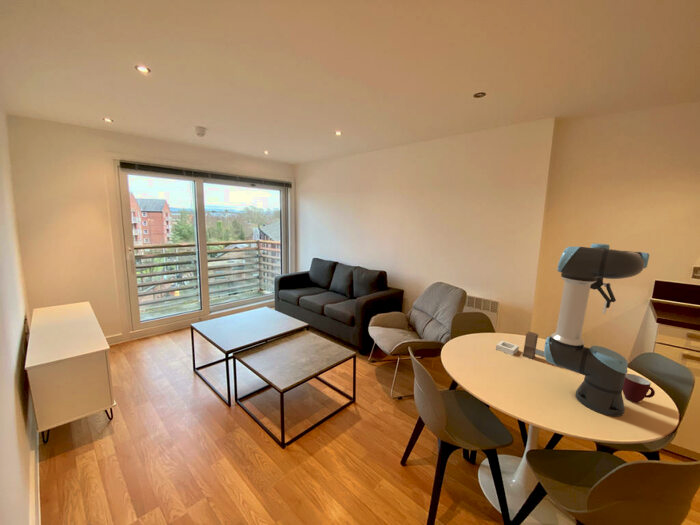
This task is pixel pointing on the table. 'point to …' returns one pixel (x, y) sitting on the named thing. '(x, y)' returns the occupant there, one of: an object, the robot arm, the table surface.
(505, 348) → the socket block
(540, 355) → the mat
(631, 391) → the mug
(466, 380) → the table surface
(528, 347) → the peg
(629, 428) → the table surface
